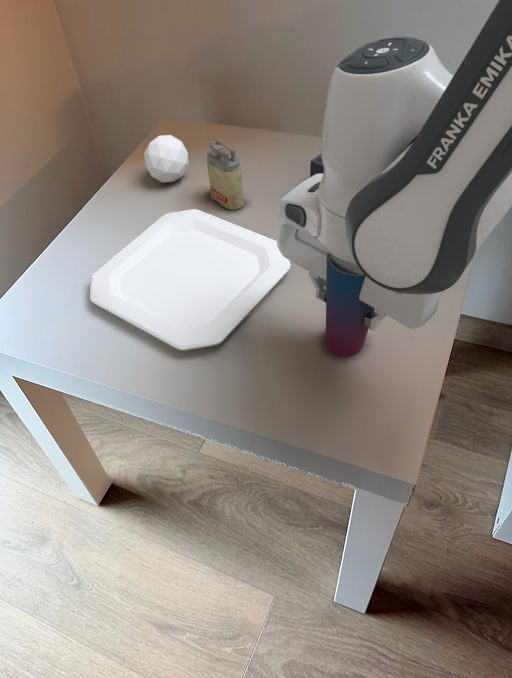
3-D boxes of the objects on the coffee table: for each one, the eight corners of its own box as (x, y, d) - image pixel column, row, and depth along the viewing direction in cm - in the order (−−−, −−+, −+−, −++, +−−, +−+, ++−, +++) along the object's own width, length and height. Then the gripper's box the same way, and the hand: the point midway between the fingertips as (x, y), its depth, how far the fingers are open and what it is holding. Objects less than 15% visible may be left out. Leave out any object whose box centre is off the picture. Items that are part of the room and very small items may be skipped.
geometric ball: (162, 195, 100) (128, 166, 95) (181, 159, 101) (148, 129, 96) (185, 189, 94) (150, 158, 89) (204, 151, 95) (171, 119, 90)
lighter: (207, 195, 94) (199, 140, 86) (224, 186, 95) (218, 131, 87) (232, 213, 90) (226, 158, 82) (249, 203, 91) (245, 148, 83)
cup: (376, 330, 72) (396, 241, 60) (362, 368, 69) (380, 282, 57) (328, 317, 74) (337, 229, 62) (311, 353, 71) (318, 267, 59)
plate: (76, 300, 81) (71, 289, 79) (180, 211, 92) (178, 200, 90) (203, 370, 71) (201, 360, 69) (304, 262, 81) (305, 250, 80)
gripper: (469, 243, 51) (436, 338, 63) (304, 169, 61) (301, 262, 72) (432, 279, 49) (404, 370, 60) (267, 195, 59) (269, 287, 70)
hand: (347, 311), depth 66 cm, fingers closed on cup, 6 cm apart
